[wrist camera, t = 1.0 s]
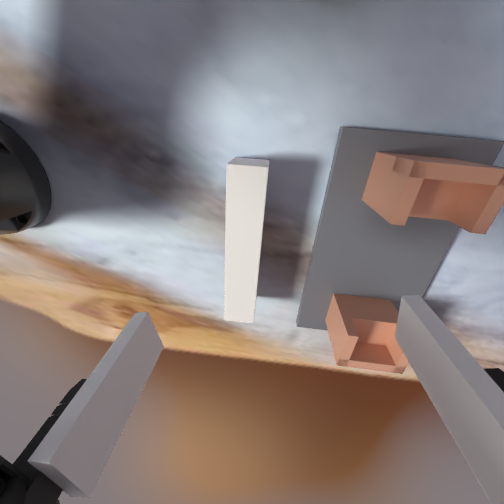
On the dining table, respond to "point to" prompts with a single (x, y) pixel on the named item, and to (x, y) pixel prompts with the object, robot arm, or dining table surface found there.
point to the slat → (243, 235)
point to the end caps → (391, 233)
